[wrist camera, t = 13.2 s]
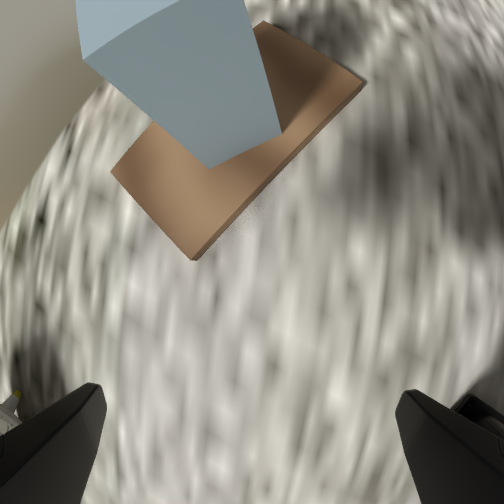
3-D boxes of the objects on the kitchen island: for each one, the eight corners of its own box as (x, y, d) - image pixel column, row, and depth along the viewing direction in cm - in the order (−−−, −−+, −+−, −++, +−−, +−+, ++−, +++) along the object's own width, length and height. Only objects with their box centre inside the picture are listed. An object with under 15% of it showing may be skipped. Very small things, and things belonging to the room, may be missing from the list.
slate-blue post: (282, 134, 19) (235, -25, 6) (208, 169, 19) (83, 60, 7) (249, 76, 19) (187, -71, 7) (183, 109, 20) (74, -8, 8)
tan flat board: (265, 29, 20) (263, 20, 19) (360, 90, 19) (362, 81, 18) (119, 175, 22) (110, 171, 21) (197, 260, 21) (190, 260, 19)
